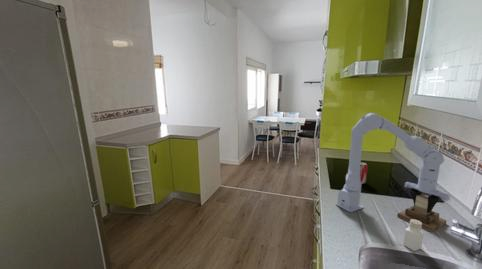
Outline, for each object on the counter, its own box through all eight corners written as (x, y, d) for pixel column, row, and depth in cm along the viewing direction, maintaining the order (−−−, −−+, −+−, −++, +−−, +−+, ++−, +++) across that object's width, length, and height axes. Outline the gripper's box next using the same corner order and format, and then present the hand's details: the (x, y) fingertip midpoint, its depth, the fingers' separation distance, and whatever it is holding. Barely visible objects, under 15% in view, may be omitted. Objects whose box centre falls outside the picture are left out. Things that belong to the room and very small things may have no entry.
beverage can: (367, 185, 126) (369, 165, 123) (355, 184, 127) (357, 164, 125) (363, 181, 132) (365, 162, 129) (352, 180, 133) (354, 161, 131)
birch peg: (424, 218, 88) (428, 199, 86) (413, 213, 91) (416, 195, 90) (429, 215, 89) (433, 197, 88) (418, 211, 93) (421, 193, 91)
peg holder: (431, 232, 83) (433, 222, 82) (397, 216, 93) (398, 208, 92) (445, 223, 88) (447, 214, 87) (412, 210, 99) (413, 201, 98)
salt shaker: (414, 252, 72) (419, 226, 70) (401, 244, 76) (405, 219, 74) (421, 249, 74) (426, 223, 72) (409, 241, 77) (413, 217, 75)
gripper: (456, 182, 83) (449, 215, 85) (412, 171, 95) (408, 199, 98) (447, 186, 80) (441, 220, 82) (403, 173, 92) (399, 203, 95)
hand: (422, 209), depth 90 cm, fingers closed on birch peg, 4 cm apart
